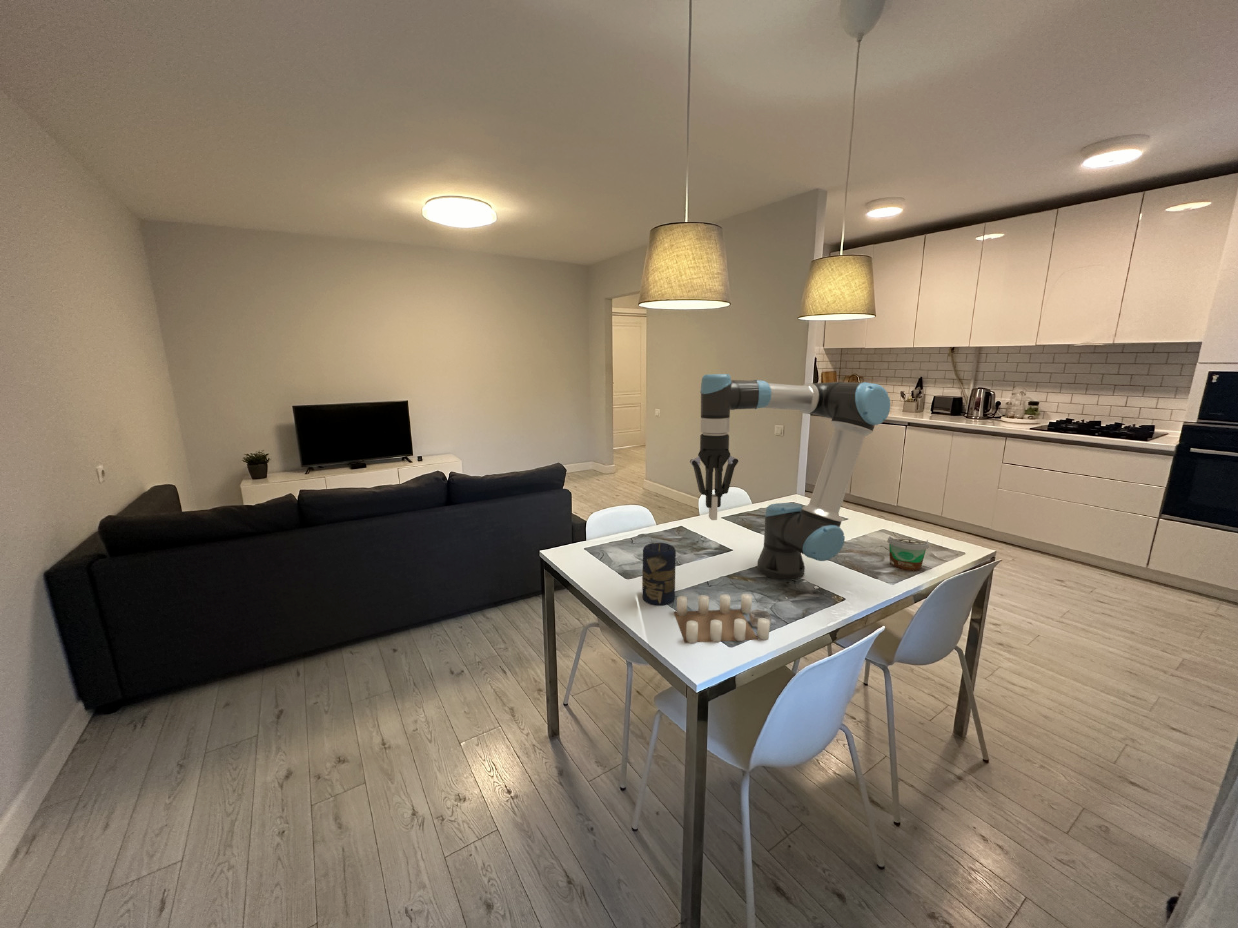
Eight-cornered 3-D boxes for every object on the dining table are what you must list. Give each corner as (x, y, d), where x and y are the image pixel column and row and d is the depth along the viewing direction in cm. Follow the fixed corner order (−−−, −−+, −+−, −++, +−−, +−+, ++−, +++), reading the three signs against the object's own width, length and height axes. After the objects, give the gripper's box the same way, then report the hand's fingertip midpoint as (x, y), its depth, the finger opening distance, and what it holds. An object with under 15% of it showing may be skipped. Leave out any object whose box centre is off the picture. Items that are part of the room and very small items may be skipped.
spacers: (749, 608, 134) (750, 593, 133) (770, 640, 118) (771, 623, 117) (675, 611, 132) (676, 596, 131) (687, 643, 117) (687, 626, 116)
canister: (637, 606, 138) (638, 547, 134) (647, 591, 146) (648, 536, 143) (670, 611, 134) (671, 551, 131) (678, 596, 143) (679, 540, 139)
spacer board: (765, 612, 134) (765, 608, 134) (787, 642, 119) (787, 637, 119) (673, 615, 132) (673, 611, 132) (684, 646, 117) (684, 642, 117)
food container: (887, 569, 161) (891, 541, 159) (884, 562, 166) (887, 535, 164) (930, 574, 156) (934, 546, 154) (925, 567, 162) (929, 539, 160)
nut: (765, 617, 129) (765, 608, 128) (772, 628, 123) (773, 619, 123) (747, 618, 128) (747, 609, 128) (754, 629, 123) (755, 620, 122)
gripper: (733, 430, 130) (731, 513, 135) (686, 432, 129) (686, 515, 134) (743, 434, 123) (740, 521, 128) (694, 436, 122) (693, 524, 127)
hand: (712, 518), depth 131 cm, fingers closed
